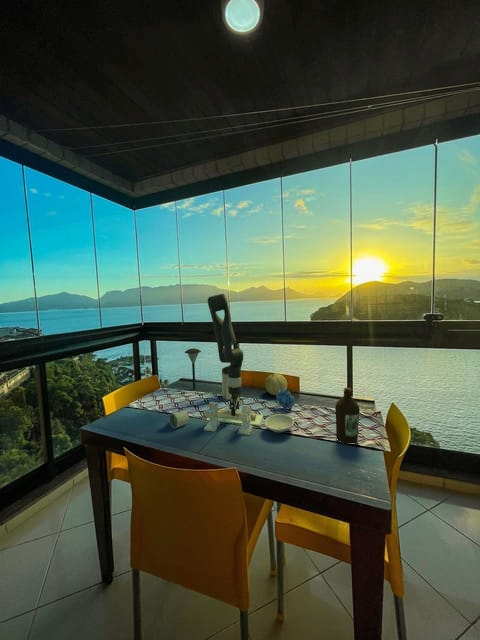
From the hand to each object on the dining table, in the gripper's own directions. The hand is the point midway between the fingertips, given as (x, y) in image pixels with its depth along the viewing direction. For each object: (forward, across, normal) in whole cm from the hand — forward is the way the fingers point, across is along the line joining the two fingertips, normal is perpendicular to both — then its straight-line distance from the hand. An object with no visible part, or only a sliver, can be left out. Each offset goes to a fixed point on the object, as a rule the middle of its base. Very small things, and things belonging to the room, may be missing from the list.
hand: (235, 412), depth 158 cm
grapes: (+4, -18, +26) cm, 31 cm away
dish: (+4, +10, +26) cm, 28 cm away
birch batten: (+3, 0, 0) cm, 3 cm away
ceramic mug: (+4, +14, -28) cm, 32 cm away
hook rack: (+3, +13, 0) cm, 13 cm away
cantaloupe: (+4, -41, +18) cm, 45 cm away
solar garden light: (+4, -39, -42) cm, 57 cm away
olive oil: (+4, +12, +58) cm, 59 cm away
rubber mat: (+3, 0, 0) cm, 3 cm away
